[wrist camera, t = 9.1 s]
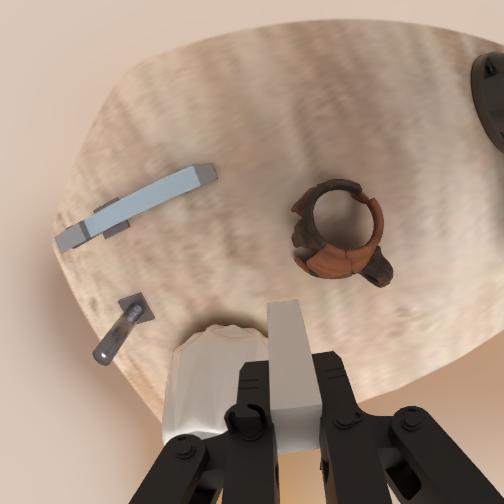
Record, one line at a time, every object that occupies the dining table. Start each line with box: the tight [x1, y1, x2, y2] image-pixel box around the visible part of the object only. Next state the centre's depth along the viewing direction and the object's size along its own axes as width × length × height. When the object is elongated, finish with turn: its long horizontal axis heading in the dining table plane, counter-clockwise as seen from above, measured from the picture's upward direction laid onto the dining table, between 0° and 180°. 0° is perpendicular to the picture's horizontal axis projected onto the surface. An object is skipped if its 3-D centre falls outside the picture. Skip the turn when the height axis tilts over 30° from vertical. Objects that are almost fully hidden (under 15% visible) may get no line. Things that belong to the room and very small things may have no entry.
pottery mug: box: [291, 179, 393, 288], centre depth 26 cm, size 12×10×8 cm
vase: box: [162, 324, 269, 446], centre depth 27 cm, size 14×14×15 cm
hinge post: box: [66, 198, 130, 249], centre depth 25 cm, size 4×4×8 cm
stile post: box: [93, 293, 155, 366], centre depth 28 cm, size 4×4×10 cm
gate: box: [54, 163, 218, 254], centre depth 23 cm, size 14×2×9 cm, turn 111°
